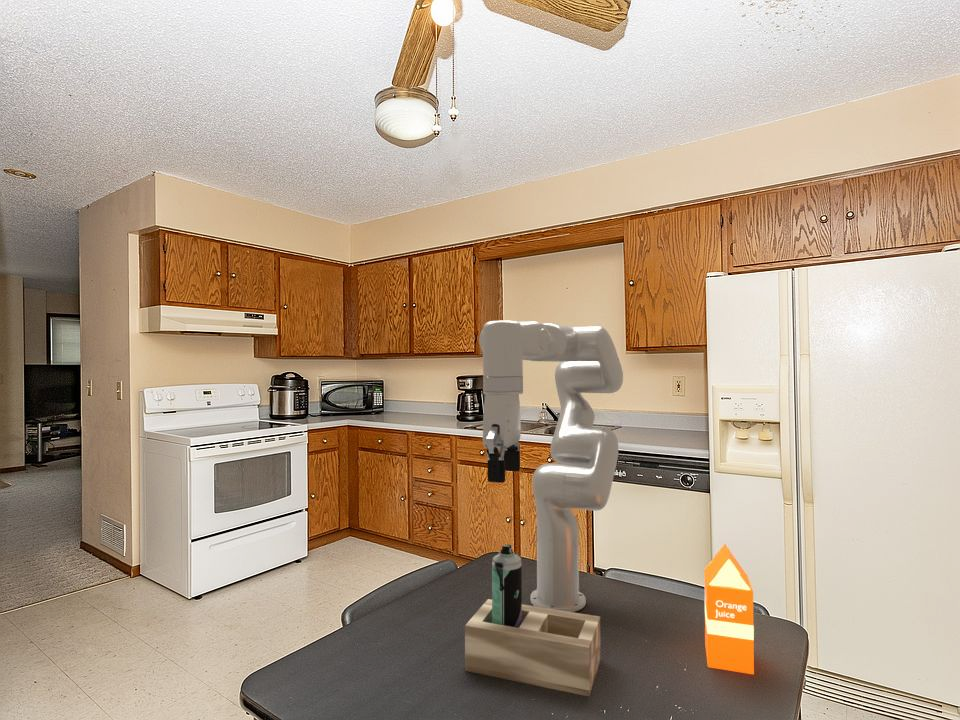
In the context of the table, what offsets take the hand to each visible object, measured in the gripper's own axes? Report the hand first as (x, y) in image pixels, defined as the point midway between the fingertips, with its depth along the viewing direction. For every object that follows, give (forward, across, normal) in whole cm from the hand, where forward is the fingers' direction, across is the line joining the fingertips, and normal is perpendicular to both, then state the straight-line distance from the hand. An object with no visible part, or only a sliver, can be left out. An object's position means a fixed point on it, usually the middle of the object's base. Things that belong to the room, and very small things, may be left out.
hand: (504, 476), depth 105 cm
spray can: (+32, +3, +1) cm, 33 cm away
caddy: (+33, +3, +6) cm, 34 cm away
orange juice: (+34, -11, +39) cm, 53 cm away
